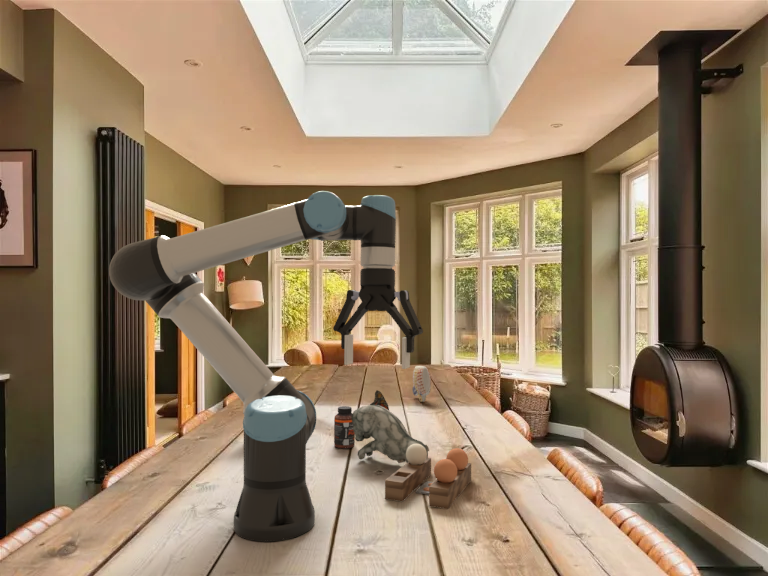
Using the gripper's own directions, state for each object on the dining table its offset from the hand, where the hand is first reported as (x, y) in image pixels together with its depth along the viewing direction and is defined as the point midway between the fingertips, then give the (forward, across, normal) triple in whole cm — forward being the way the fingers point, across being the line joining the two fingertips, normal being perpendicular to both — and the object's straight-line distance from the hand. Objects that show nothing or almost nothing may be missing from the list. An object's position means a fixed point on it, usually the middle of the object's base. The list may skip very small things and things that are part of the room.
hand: (376, 366), depth 117 cm
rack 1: (+28, -4, -10) cm, 30 cm away
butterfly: (+29, +27, -65) cm, 76 cm away
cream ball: (+22, -4, -15) cm, 27 cm away
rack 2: (+28, -14, -10) cm, 33 cm away
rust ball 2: (+22, -14, -15) cm, 30 cm away
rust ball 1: (+22, -14, -6) cm, 27 cm away
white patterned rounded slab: (+28, +27, -104) cm, 112 cm away
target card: (+28, -9, -10) cm, 31 cm away
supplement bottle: (+29, +25, -33) cm, 50 cm away
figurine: (+28, +7, -24) cm, 37 cm away
